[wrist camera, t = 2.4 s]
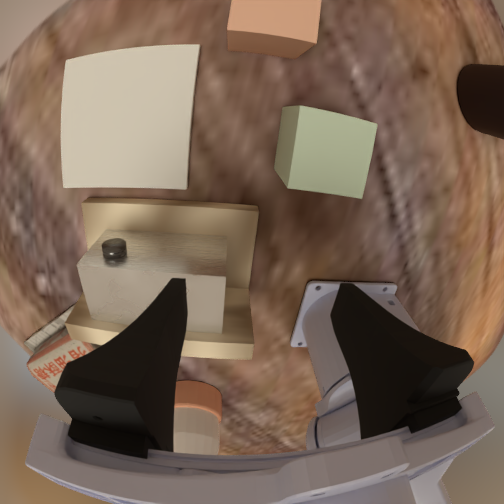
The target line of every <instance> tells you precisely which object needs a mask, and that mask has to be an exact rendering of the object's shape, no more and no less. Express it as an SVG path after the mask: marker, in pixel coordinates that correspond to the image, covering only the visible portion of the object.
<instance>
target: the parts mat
mask: <svg viewBox="0 0 504 504" xmlns="http://www.w3.org/2000/svg"><path fill="white" fill-rule="evenodd" d="M200 48H201V46H200V45H160V46H146V47H136V48H127V49H120V50H113V51H107V52H101V53H96V54H90V55H86V56H81V57H77V58H73V59H69V60H66V64H65V72H64V81H63V92H62V108H61V159H62V176H63V187H64V188H82V187H125V188H163V189H185V190H186V189H187V188H188V171H189V154H190V140H191V127H192V116H193V105H194V96H195V87H196V78H197V70H198V62H199V55H200Z"/></svg>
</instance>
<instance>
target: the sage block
mask: <svg viewBox="0 0 504 504" xmlns="http://www.w3.org/2000/svg"><path fill="white" fill-rule="evenodd" d="M376 130H377V124H375V123H372V122H369V121H365V120H361V119H358V118H354V117H350V116H346V115H343V114H338V113H334V112H330V111H325V110H321V109H316V108H311V107H306V106H301V105H299V106H287V107H282V114H281V122H280V129H279V136H278V143H277V150H276V157H275V164H274V170H275V171H276V172H277V174H278V175H279V177H280V178H281V180H282V181H283V182H284V184H285V185H286V187H287V188H290V189H298V190H306V191H314V192H321V193H328V194H335V195H341V196H348V197H354V198H360V199H362V196H363V192H364V188H365V184H366V179H367V175H368V170H369V166H370V161H371V156H372V151H373V146H374V141H375V135H376Z"/></svg>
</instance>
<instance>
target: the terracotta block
mask: <svg viewBox="0 0 504 504" xmlns="http://www.w3.org/2000/svg"><path fill="white" fill-rule="evenodd" d="M320 8H321V0H232V3H231V8H230V14H229V20H228V27H227V41H228V51H238V52H249V53H257V54H265V55H272V56H278V57H284V58H290V59H296V58H297V57H299V56H300V55H301V54H303V53H304V52H306V51H307V50H308V49H310V48H311V47H312V46H314V45H315V44H317V36H318V27H319V17H320Z"/></svg>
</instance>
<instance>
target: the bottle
mask: <svg viewBox="0 0 504 504" xmlns="http://www.w3.org/2000/svg"><path fill="white" fill-rule="evenodd" d="M458 96H459V102H460V105H461V108H462V111H463V114H464V116H465V118H466V119H467V121H468V123H469V124H470V125H471V126H472V127H473V128H474V129H475V130H477V131H479V132H481V133H485V134H488V135H491V136H495V137H498V138H501V139H504V66H502V65H483V64H471V65H468V66H466V67H464V69H463V70H462V71H461V73H460V76H459V80H458Z"/></svg>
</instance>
